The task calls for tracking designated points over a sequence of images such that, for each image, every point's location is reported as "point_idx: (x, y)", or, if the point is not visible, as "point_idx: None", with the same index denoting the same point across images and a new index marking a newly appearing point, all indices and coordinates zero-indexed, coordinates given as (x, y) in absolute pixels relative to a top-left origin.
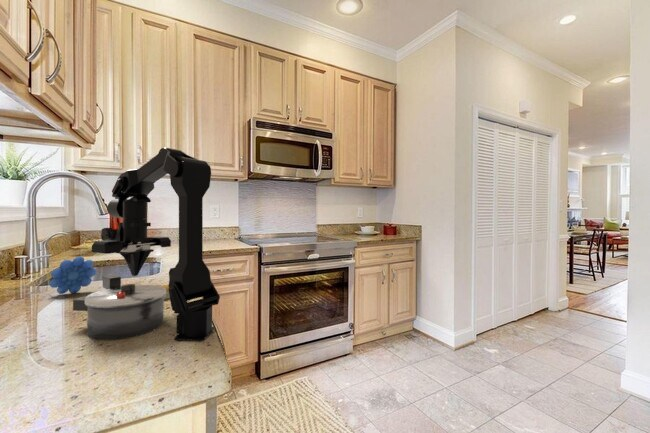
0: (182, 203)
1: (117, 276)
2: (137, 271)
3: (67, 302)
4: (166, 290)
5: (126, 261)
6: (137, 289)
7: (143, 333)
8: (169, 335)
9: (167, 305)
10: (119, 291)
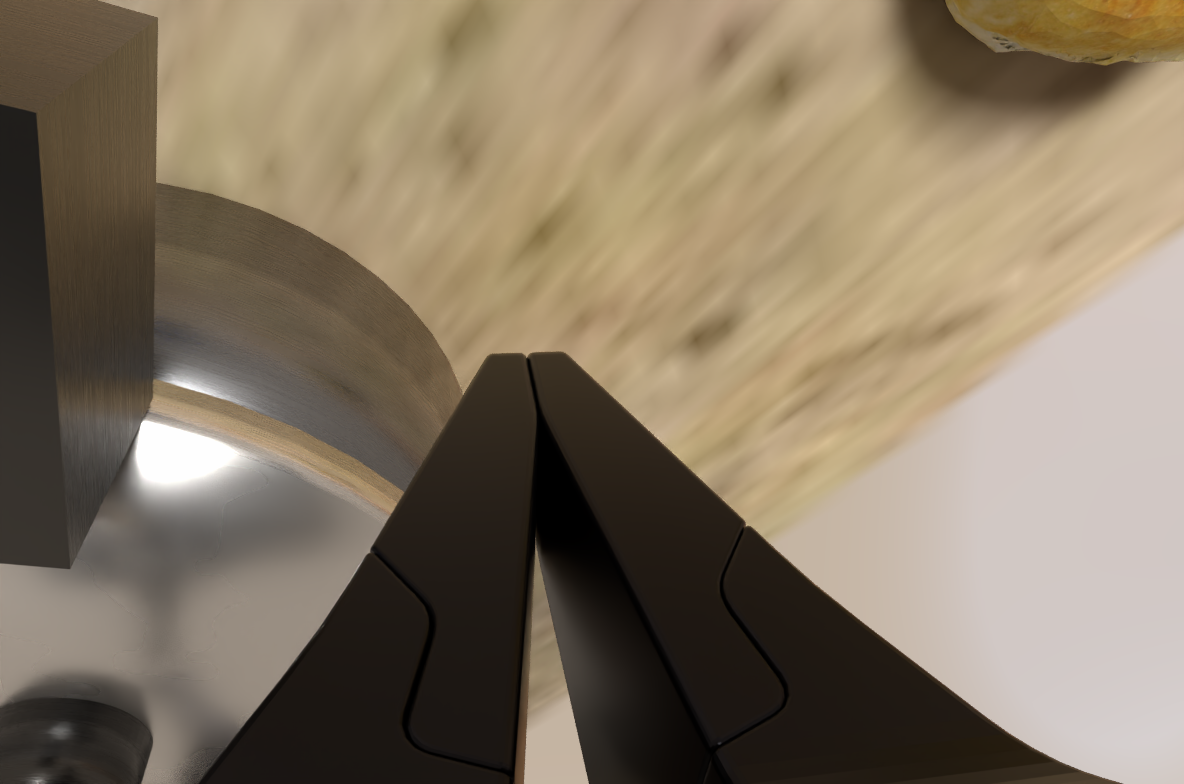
0: None
1: (23, 484)
2: (538, 527)
3: None
4: (1117, 49)
5: (313, 661)
6: (236, 689)
7: None
8: None
9: (775, 266)
10: (5, 637)
